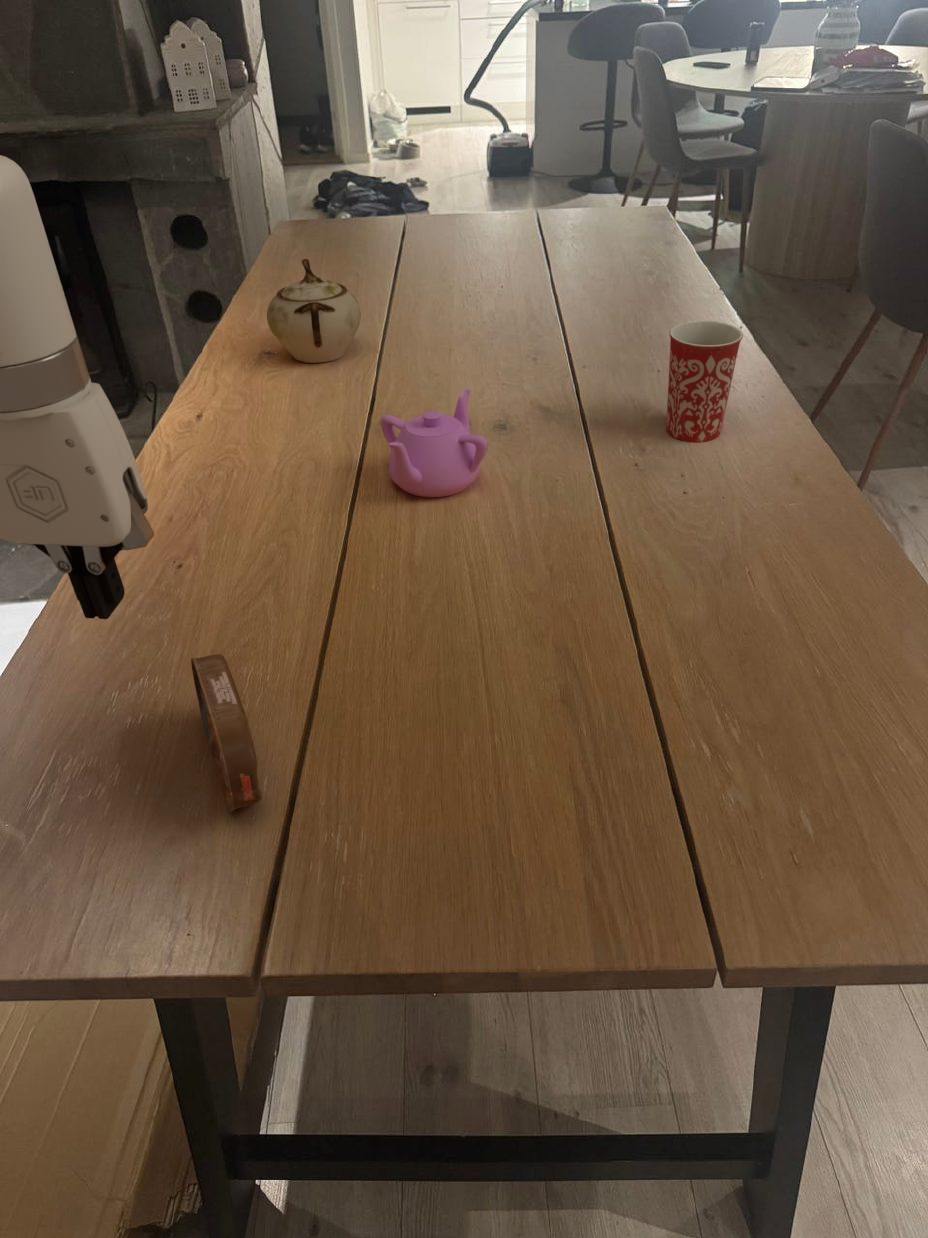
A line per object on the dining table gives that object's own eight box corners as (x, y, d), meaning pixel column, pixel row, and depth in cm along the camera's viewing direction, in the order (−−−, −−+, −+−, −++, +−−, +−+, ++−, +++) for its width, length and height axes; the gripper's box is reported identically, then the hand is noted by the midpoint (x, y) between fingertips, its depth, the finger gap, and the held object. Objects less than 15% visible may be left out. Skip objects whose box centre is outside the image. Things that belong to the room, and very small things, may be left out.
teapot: (394, 510, 110) (388, 442, 105) (382, 459, 121) (376, 395, 116) (492, 498, 112) (491, 431, 106) (471, 448, 123) (469, 385, 117)
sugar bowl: (273, 338, 160) (258, 247, 151) (359, 329, 161) (350, 239, 152) (274, 381, 144) (258, 282, 135) (370, 371, 146) (360, 273, 137)
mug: (737, 443, 121) (752, 342, 113) (668, 447, 121) (679, 346, 113) (711, 404, 131) (723, 309, 123) (647, 408, 131) (655, 312, 123)
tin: (199, 714, 82) (179, 640, 77) (234, 704, 83) (216, 630, 78) (234, 834, 71) (213, 756, 66) (274, 821, 72) (256, 743, 67)
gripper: (-121, 396, 56) (-13, 633, 68) (106, 401, 54) (180, 645, 65) (-49, 350, 62) (39, 574, 73) (159, 353, 60) (218, 584, 71)
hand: (105, 607), depth 69 cm, fingers closed
